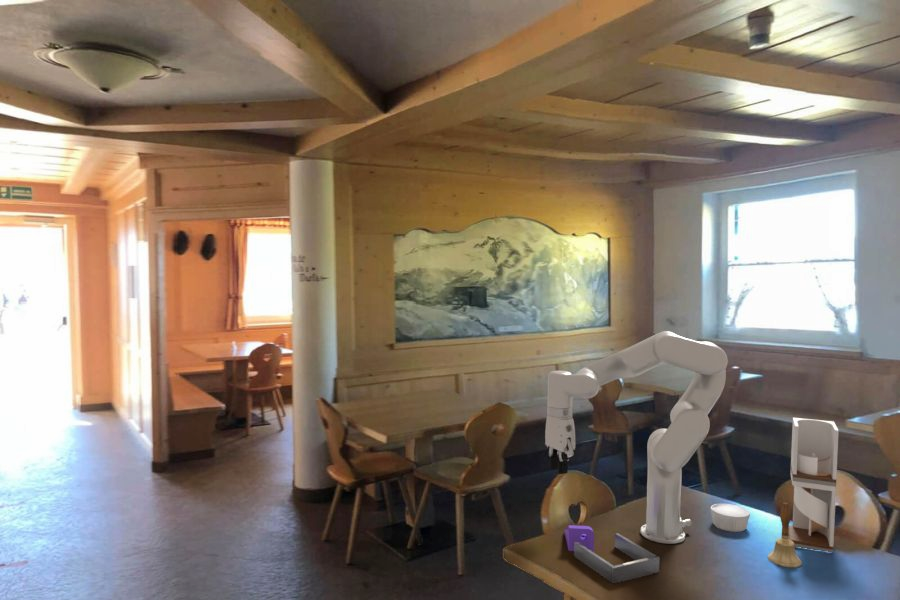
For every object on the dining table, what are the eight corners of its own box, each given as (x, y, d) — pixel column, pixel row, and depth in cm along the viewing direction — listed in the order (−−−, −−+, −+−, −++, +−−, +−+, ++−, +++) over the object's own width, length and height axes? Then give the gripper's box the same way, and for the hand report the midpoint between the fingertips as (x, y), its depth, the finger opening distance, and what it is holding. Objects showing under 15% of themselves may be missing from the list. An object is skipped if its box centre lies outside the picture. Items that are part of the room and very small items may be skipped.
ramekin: (714, 516, 207) (715, 500, 206) (752, 525, 200) (753, 508, 200) (705, 527, 197) (706, 511, 197) (745, 537, 191) (745, 519, 191)
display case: (788, 531, 195) (792, 417, 193) (828, 538, 190) (833, 421, 188) (790, 546, 184) (795, 426, 182) (833, 554, 180) (838, 430, 178)
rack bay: (617, 546, 183) (618, 532, 183) (658, 572, 168) (659, 557, 168) (574, 556, 177) (574, 541, 177) (612, 583, 162) (613, 567, 162)
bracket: (593, 553, 180) (594, 529, 179) (568, 552, 180) (569, 528, 180) (588, 535, 192) (588, 512, 191) (564, 534, 192) (565, 511, 192)
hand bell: (769, 564, 173) (771, 506, 173) (766, 551, 181) (768, 496, 180) (803, 570, 170) (806, 511, 169) (799, 557, 178) (802, 500, 177)
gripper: (586, 416, 189) (585, 478, 190) (554, 405, 204) (553, 462, 205) (565, 419, 186) (564, 481, 187) (534, 407, 201) (533, 465, 202)
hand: (558, 470), depth 196 cm, fingers open, 3 cm apart
